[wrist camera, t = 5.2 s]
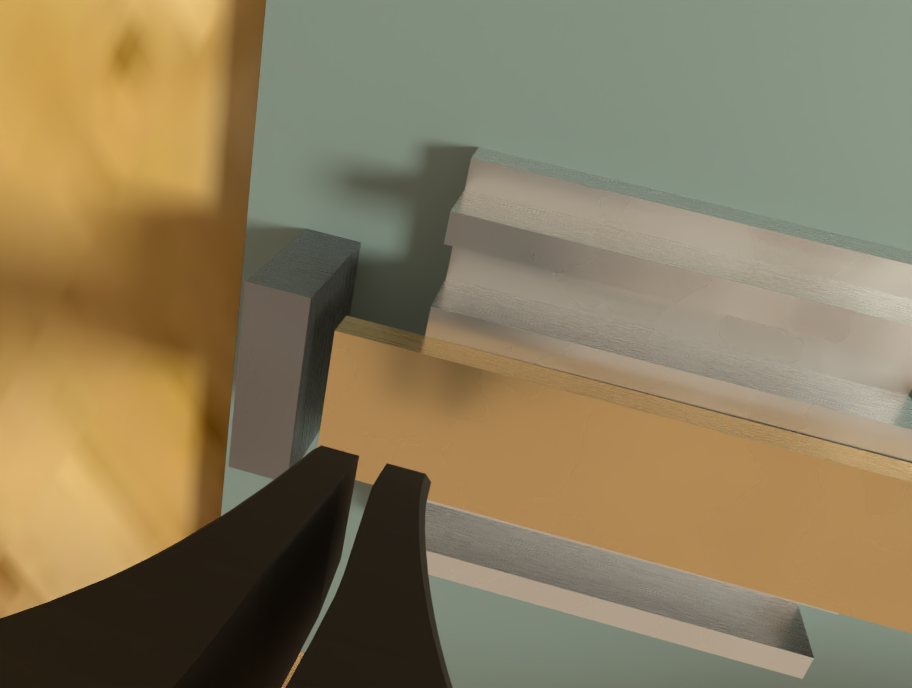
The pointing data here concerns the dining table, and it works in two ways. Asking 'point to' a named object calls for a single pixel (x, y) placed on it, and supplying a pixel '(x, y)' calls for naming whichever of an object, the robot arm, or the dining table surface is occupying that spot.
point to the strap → (627, 470)
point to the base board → (594, 152)
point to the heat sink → (611, 365)
